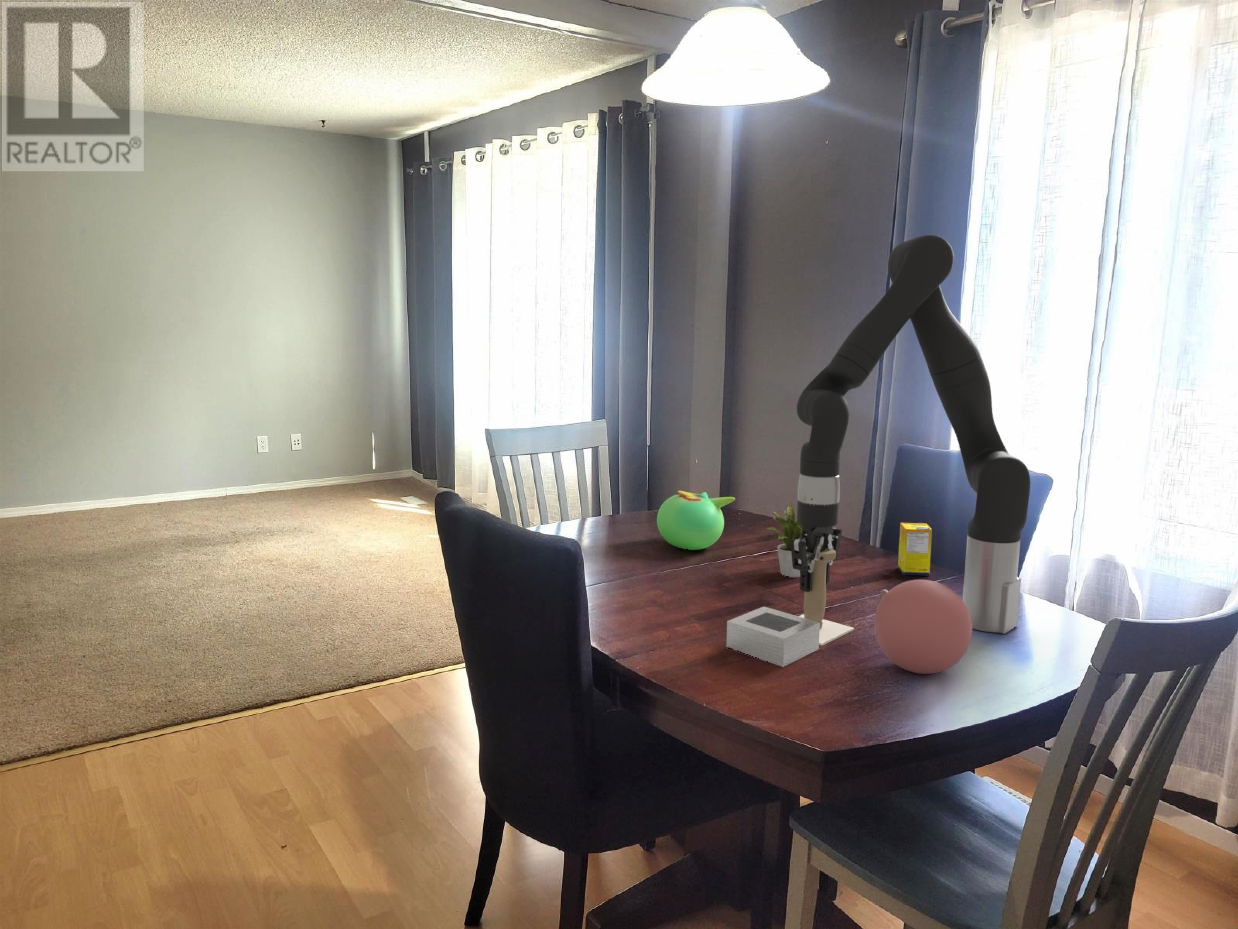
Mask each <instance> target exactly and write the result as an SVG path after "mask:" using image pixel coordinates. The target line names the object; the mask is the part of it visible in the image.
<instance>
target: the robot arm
mask: <svg viewBox="0 0 1238 929" xmlns="http://www.w3.org/2000/svg"><path fill="white" fill-rule="evenodd" d="M954 262H955V254H954V250H953V247H952V246H951V244H950V243H949V242H948V241H947V239H945V238H943V237H942V236H940V235H935V234H928V235H921V236H917V237H915V238H912V239H907V240H905V241H903V242H901V243H899V244H898V245H897V246H895V247H894V248H893V250H891V252H890V254H889V256H888V262H887V271H888V276H889V279H890V280H891V283H892V284H891V286H889V288H888V290H887V291H886V292H885V294H884V295H883V297H881V299H880V300H879V301H878V302H877V303H876V305H875V306H874V307H873V308H872V309H871V310H870V311H869V312H868V313H867V314H866V315H865V316H864V317H863V318H862V320H860V322H858V323H857V325H856V326H855V327H854V328H853V329H852V330H851V332H850V333H849V334H848V335H847V337H846V338H845V340H843V343H842V344H841V345H840V346H839V348H838V349H837V352H836V353H835V355H833V357H832V359H831V361H830V362H829V363H828V365H826V366H825V367H824V368H823V369H822V370H821V371H820V372H818V374H817V375H816V376H815V377H814V378H813V379H812V380H811V381H810V382H809V384H807V386H805V388H804V389H803V390H802V392H801V394H800V395H799V398H798V400H797V403H796V414H797V416H798V418H799V420H800V421H801V422H802V423H803V424H805V425H808V426H811V430H810V434H809V440H808V441H806V442H805V443H803V444H802V446H801V449H800V457H799V458H800V460H799V478H798V483H797V500H796V502H797V504H796V506H797V507H796V521H797V522H798V523H799V524H801V526H802V532H801V535H800V538H798V539H791V542H790V544H791V554H792V565H793V569H797V570H799V571H800V577H799V589H800V591H802V592H804V593H805V592H810V591H812V582H813V572H812V571H813V568H814V563H815V561H817V560H818V557H819V553H820V552H821V551H824V550H826V549H827V550H828V551H830V550H835V551H836V557H835V559H834V560H832V561H830V562H828V563H827V566H826V586H828V585H829V584H830V575H831V574H830V573H831V572H830V570H831V566H832V565H833V562H834V561H837V560H838V557H839V553H840V547H841V546H840V545H841V539H842V534H843V530H842V528H838V527H835V526H837V525H838V524H839V522H840V521H839V520H840V519H839V517H840V516H839V515H840V499H841V498H840V497H841V483H840V467H841V461H840V460H841V450H842V448H843V444H844V442H845V437H846V433H847V429H848V426H849V421H850V410H849V404H848V402H847V399H846V398H845V396H846V394H847V393H848V392H849V391H851V390H854V389H857V388H860V387H861V386H862V385H863V384H864V383H865V382H866V380H867V379H868V377H869V376H870V374H871V373H872V371H873V370H874V368H875V367H876V366H877V365H878V363H879V361H880V359H882V357H883V355H884V353H885V352H886V350H887V349H888V347H890V345H891V343H892V342H893V341H894V340H895V338H896V336H897V335H898V334H899V333H900V331H901V330H902V329H903V328H904V327H905V324H907V323H908V322H909V320H910V322H911V324H912V327H913V329H914V333H915V335H916V336H915V337H916V339H917V341H918V344H919V347H920V349H921V351H922V355H923V357H924V359H925V363H926V365H927V366H926V367H927V369H928V371H929V375H930V377H931V379H932V383H933V385H934V388H935V390H936V392H937V395H938V398H939V400H940V402H941V405H942V407H943V410H944V412H945V415H946V416H947V419H948V421H949V423H950V425H951V427H952V429H953V431H954V434H955V436H956V439H957V442H958V446H959V451H960V454H961V459H962V462H963V466H964V471H965V474H966V479H967V481H968V484H969V486H970V488H972V490H973V492H975V493H976V499H975V501H976V503H975V509H974V510H975V511H974V515H973V517H972V518H971V519H970V520H969V522H968V525H967V536H966V537H967V538H966V549H965V550H966V552H965V563H964V577H963V590H962V601H963V602H964V604H965V605H966V607H967V609H968V611H969V614H970V617H971V621H972V630H977V631H981V632H988V633H997V634H998V633H1000V634H1004V635H1005V634H1007V633H1009V632H1010V631H1011V630H1014V629H1015V628H1016V627H1018V619H1019V610H1020V597H1021V596H1020V595H1021V587H1022V586H1021V585H1022V584H1021V583H1022V578H1020V577H1018V573H1019V572H1018V571H1019V560H1020V559H1019V558H1020V549H1021V537H1022V536H1021V535H1022V531H1023V529H1024V528H1025V525H1026V522H1027V516H1028V508H1029V499H1030V494H1031V492H1030V491H1031V476H1030V471H1029V468H1028V467H1027V465H1026V464H1025V463H1024V462H1023V461H1022V460H1021V459H1019V458H1017V457H1015V456H1013V455H1011V454H1010V453H1009V452H1008V450H1007V448H1006V446H1005V444H1004V442H1003V440H1002V438H1001V435H1000V433H999V431H998V428H997V426H996V422H995V420H994V414H993V413H994V412H993V400H992V389H991V383H990V378H989V375H988V371H987V369H986V367H985V363H984V360H983V358H982V356H981V353H980V350H979V348H978V346H977V345H976V344H977V343H976V341H974V340H973V338H972V336H971V335H970V334H969V333H968V332H967V331H966V329H965V328H964V327H963V325H962V324H961V323H960V321H958V319H957V318H956V316H955V315H954V314H953V313H952V311H951V310H950V308H949V306H948V304H947V302H946V301H947V300H946V299H945V297H944V293H943V291H942V288H941V284H943V282H944V281H945V280H946V279H947V278H948V276H949V275H950V274H951V272H952V270H953V266H954ZM806 551H807V552H810V553H813V555H807V554H806ZM798 559H800V561H799V563H798ZM807 559H809V564H808V562H807ZM1015 626H1016V627H1015ZM1014 627H1015V628H1014Z"/></svg>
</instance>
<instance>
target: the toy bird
mask: <svg viewBox="0 0 1238 929" xmlns="http://www.w3.org/2000/svg"><path fill="white" fill-rule="evenodd" d="M734 501H736V498H735V497H734V496H724V497H723V496H722V497H714V498H713V497H712V498H711V497H710V498H709V495H708V493H707V492H704V491H703V492H702V493H699V494H698V493H695V492H687V491H684V490H677V494H674V495H672V496H670V497H668V498H667V499H666V500H664V502H663V503H662V504H661V505H660V507H659V509H658V512H657V516H656V524H657V528H658V532H659V534H660V535H661V537H662V538H663V539H664V540H665V541H666V542H667V543H669V544H670V545H672V546H674V547H676V548H679V549H681V548H682V549H681V550H686V549H688V550H687V551H698V550H699V551H700V550H703V549H706V548H708V547H711V546H712V545H714V544H715V543H717V541H718V540H719V539H720V537H721V536H722V534H723V531H724V527H725V518H724V515H723V511H722V510H721V508H723V507H724V506H726V505H729V504H731V503H733V502H734Z"/></svg>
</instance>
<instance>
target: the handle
mask: <svg viewBox="0 0 1238 929" xmlns="http://www.w3.org/2000/svg"><path fill="white" fill-rule="evenodd" d="M806 554H807V555H813V553H810V552H807V551H806ZM835 557H836V551H835V550H834V549H833V550H830V551H828V550H827V549H826V550H824V551H821V552H820V553H819V557H818V560H817V561H815V563H814V568H813V571H812V572H813V582H812V591H810V592H805V591H804V596H803V614H804V618H806V619H809V620H813V621H816V622H820V629H821V628H822V625H823V622H822V620H823V619H824V617H825V611H826V605H827V604H826V602H827V585H826V566H827V563H828V562H830V561H832V560H833V561H835V560H834V559H835ZM808 564H809V559H807V565H808Z"/></svg>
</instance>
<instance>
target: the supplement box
mask: <svg viewBox="0 0 1238 929" xmlns="http://www.w3.org/2000/svg"><path fill="white" fill-rule="evenodd" d="M899 525H900V526H899V539H898V561H897V562H898V563H897V569H898V570H899V572H900V573H901V575H902V576H922V577H923V576H926V577H928V576H930V574H931V572H930V570H931V555H932V536H933V535H932V533H933V530H932V528H931V527H930V525H929V524H927V523H923V522H918V523H917V522H916V523H914V522H900V524H899Z"/></svg>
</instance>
